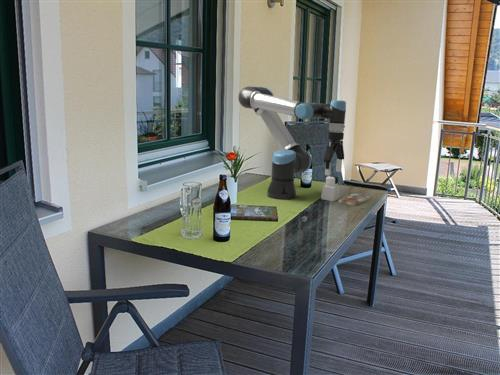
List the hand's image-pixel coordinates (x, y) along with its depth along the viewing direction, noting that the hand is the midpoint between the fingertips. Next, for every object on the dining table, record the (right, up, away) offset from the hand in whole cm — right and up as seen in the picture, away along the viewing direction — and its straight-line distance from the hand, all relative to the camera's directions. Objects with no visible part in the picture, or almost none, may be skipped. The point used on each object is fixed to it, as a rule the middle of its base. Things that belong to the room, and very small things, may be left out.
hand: (333, 173), depth 251 cm
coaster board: (+11, -14, +2) cm, 18 cm away
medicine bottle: (-1, -13, +3) cm, 14 cm away
